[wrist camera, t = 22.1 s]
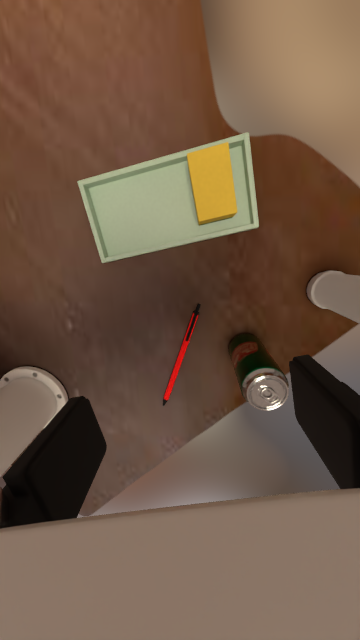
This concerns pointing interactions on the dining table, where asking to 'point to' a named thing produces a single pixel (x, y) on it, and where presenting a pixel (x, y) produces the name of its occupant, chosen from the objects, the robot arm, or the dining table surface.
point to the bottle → (336, 293)
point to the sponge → (212, 183)
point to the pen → (181, 354)
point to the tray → (163, 204)
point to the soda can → (257, 373)
